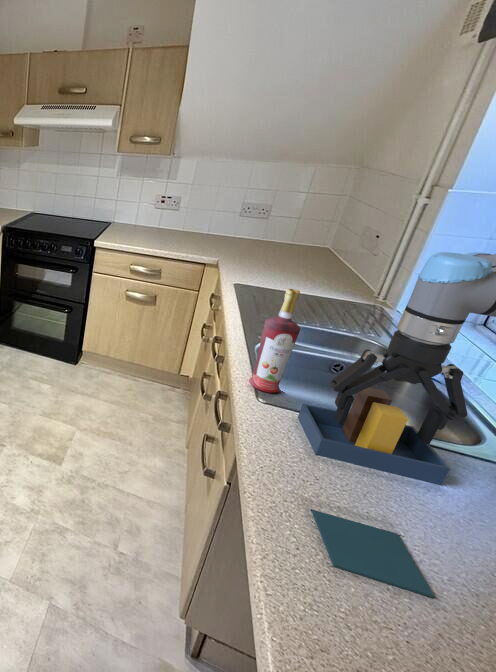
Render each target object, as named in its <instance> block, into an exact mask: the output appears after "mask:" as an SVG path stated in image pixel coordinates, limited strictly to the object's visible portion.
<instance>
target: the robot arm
mask: <svg viewBox="0 0 496 672" xmlns="http://www.w3.org/2000/svg"><path fill="white" fill-rule="evenodd" d="M470 314H476V315H480V316H488V317H494V318H496V253H494V254H491V253H485V252H468V253H465V254H464V253H457V252H448V251H447V252H446V251H445V252H444V251H442V252H436V253H433V254H431V255H430V256H429V257H428V258H427V260H426V261H425V263H424V264H423V266H422V269H421V270H420V272H419V274H418V275H417V280H416V282H415V284H414V287H413V289H412V292H411V295H410V297H409V300H408V302H407V304H406V306H405V308H404V310H403V312H402V314H401V316H400V319H399V321H398V323H397V326H396V328H397V330H395V331H394V332H393V335H392V337H391V339H390V341H389V344H388V347H387V350H386V352H385V353H384V354H380V353H376V352H373V351H372V350H371V349H364V351H363V352H362V354H361V356H360V357H359V358H358V359H357V360H356V361H354V362H353V363H351V365H349V366H348V367H347V368H345V369H344V370H343V371H342V372H340V373H339V374H338V375H336V376H335V377H334V378H332V379H331V380H330V381H329V385H330V386H331V387H332V389H333V390H334V391H335V392H338V393H337V395H336V397H335V400H334V405H335V406H336V409H335V410H336V413H335V415H334V417H335V419H336V421H337V422H338V424H340V425H344V422H345V420H346V418H347V415H348V413H349V412H350V409H351V407H352V404H353V402H354V399H355V396H354V395H356V394H357V393H358V392H360V391H362V390H364V389H367V388H369V387H370V388H372V387H373V386H376V385H378V384H380V383H382V382H389V381H391V380H395V381H396V382H403V383H404V382H406V383H409V384H412V385H417V384H421V386H422V387H423V388H424V390H425V392H426V393H427V395H428V396H429V398H430V400H431V401H432V402H433V404H434V405H435V408H432V407H430V408H429V410H428V412H427V414H426V416H425V418H424V420H423V422H422V424H421V425H420V428H419V430H418V434H417V436H418V437H419V438H420V439H421V440H422V442H423V443H424V444H428V445H430V444H431V442H432V441H433V439H434V437H435V435H436V433H437V432H438V430H440V431H442V430H444V429H445V427H446V425H447V423H448V421H453V420H456V418H457V416H458V417H460V418H466V417H468V409H467V405H466V400H465V394H464V391H463V386H462V380H463V376H464V371H463V370H462V369H461V368H459V367H458V366H457V365H456V364H454V363H449V364H447V365H442V364H444V363H445V362H446V360H447V358H448V356H449V354H450V352H451V349H452V345H451V344H453V343H455V341H456V339H457V337H458V335H459V333H460V331H461V329H462V327H463V325H464V324H465V322H466V321H467V318H468V317H469V315H470ZM378 363H381V364H380V365H378ZM377 365H378V366H377ZM373 366H375V367H374V368H373V369H372V370H371V368H372V367H373ZM369 370H371V371H369ZM368 371H369V372H368ZM384 372H385V373H384ZM440 374H441V375H442V376H443V379H444V383H445V388H446V392H447V398H448V401H449V405H448V404H447V402H446V400H445V399H444V397H443V396H442V394H441V392H440V391H439V389H438V388H437V385H436V384H435V382H434V380H433V378H434V377H437V376H438V375H440ZM436 408H437V409H436Z"/></svg>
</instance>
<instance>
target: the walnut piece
mask: <svg viewBox="0 0 496 672" xmlns="http://www.w3.org/2000/svg"><path fill="white" fill-rule="evenodd" d="M373 402H375V403H380V404H385V405H390V406H391V404H392V402H393V400H392V398H391V397H390V396H389V394H387V392H386V391H385V390H384V389H382V388H381V389H380V388H376V387H369V388H367V389H364V390H362V391H360V392H358V393H355V396H354V401H353V404H352V406H351V408H350V411H349V414H348V416H347V419H346V421H345V424H344V426H343V429H342V431H343V433H344V435H345V436H346V438H347V440H348V441H349V442H353V443H356V441H357V439H358V436H359V434H360V432H361V429H362V427H363V425H364V422H365V420H366V418H367V415H368V413H369V411H370V408H371V406H372V404H373Z"/></svg>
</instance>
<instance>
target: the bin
mask: <svg viewBox="0 0 496 672" xmlns="http://www.w3.org/2000/svg"><path fill="white" fill-rule="evenodd" d="M336 410H337V409H332V408H327V407H322V406H317V405H313V404H308V403H302V404H301V408H300V410H299V413H298V415H297V419H298V422H299V423H300V426H301V428H302V430H303V432H304V434H305V436H306V438H307V440H308V442H309V445H310V446H311V448H312V451H313V452H314V455H315V456H318V457H321V458H322V457H323V458H327V459H331V460H335V461H339V462H343V463H348V464H351V465H354V466H355V465H356V466H360V467H362V468H368V469H371V470H376V471H379V472H385V473H387V474H392V475H397V476H400V477H404V478H409V479H412V480H417V481H421V482H425V483H429V484H433V485H437V486H443V484H444V482H445V481H446V479H447V477H448V475H449V473H450V471H451V468H450V467H449V465H448V464H447V463H446V462H445V461H444V460H443V459H442V458H441V457H440V455H439V454H438V453H437V452H436V451H435V449H434V448H433V447H432V446H431V445H430V444H429V445H428V444H424V443H423V442H422V440H421V439H420V438H419V437H418V436H417V434H418V432H419V430H417V428H416V427H415V426H413V425H409V424H406V425H405V427H404V429H403V431H402V433H401V435H400V438H399V440H398V442H397V444H396V446H395V448H394V450H393V452H392V454H389V453H385V452H380V451H376V450H372V449H367V448H363V447H359V446H355V443H353V442H349V441H348V440H347V438H346V436H345V435H344V433H343V431H342V429H343V426H344V425H340V424H338V422H337V421H336V419H335V417H334V415H335V413H336ZM348 414H349V413H348ZM347 416H348V415H347ZM346 419H347V418H346ZM345 421H346V420H345ZM344 424H345V422H344Z"/></svg>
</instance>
